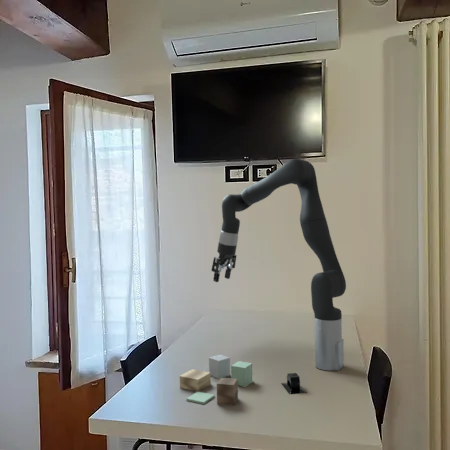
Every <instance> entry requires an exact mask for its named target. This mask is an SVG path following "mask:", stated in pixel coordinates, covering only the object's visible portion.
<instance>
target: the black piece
mask: <svg viewBox="0 0 450 450" xmlns="http://www.w3.org/2000/svg"><path fill="white" fill-rule="evenodd" d="M286 380H287V381H286V382H281V383H280V384H281V385H282V387H283V388H284V389H285V392H287V394H288V395H298V394H307V393H308V392H307V391H306V390H305V389H304V388H303V387H302V386H301V380H300V375H298V373H297V372H291V373H290V372H288V373H287V374H286Z"/></svg>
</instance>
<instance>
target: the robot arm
mask: <svg viewBox="0 0 450 450" xmlns="http://www.w3.org/2000/svg"><path fill="white" fill-rule="evenodd" d="M292 184H293V185H296V186H297V188H298V190H299V196H300V199H301V205H300V215H299V222H300V228H301V231H302V235H303V238H304V240H305V242H306V244H307V245H308V246H309V248H310V249H311V250H312V252H313V253H314V254H315V255H316V257H317V258H318V260H319V262H320V265H321V268H322V271H323V272H318V273H316V274H314V275H313V276H312V279H311V283H310V291H311V292H310V293H311V294H310V295H311V307H312V312H313V313H314V314H313V315H314V366H315V368H316V369H319V370H321V371H322V370H323V371H328V372H329V371H330V372H331V371H337V372H338V371H340V370H341V369H343V367H344V366H345V362H344V361H345V359H344V358H345V356H344V355H345V353H344V351H345V349H344V348H345V347H344V344H345V343H344V340H345V339H344V338H342V337H343V336H342V335H343V331H342V330H343V328H342V327H343V326H342V325H343V324H342V323H343V322H342V310H341V309H340V308H338V307H335V306H334V303H333V301H334V300H333V299H334V298H338V297H339V298H340V297H342V296H343V295H344V294H345V292H346V290H347V283H346V278H345V274H344V272H343V269H342V268H341V265H340V262H339V259H338V256H337V254H336V249H335V248H334V247H335V246H334V244H333V241H332V237H331V234H330V233H331V232H330V227H329V226H328V221H327V218H326V215H325V211H324V207H323V204H322V201H321V196H320V191H319V187H318V180H317V175H316V170H315V167H314V165H313V164H312V163H311V162H310V161H307V160H305V159H301V158H293V159H292V158H291V159H290V160H288V161H286V162H285V163H284V164H282V165H281V166H280V167H278V168H277V169H276V170H274V171H273V172H272V173H270V174H268V175H267V176H265V177H264V178H262V179H260V180H258V181H257V182H255V183H252V184H251V185H248V186H247V187H245V188H244V189H243V190H242V192H241V193H239V194H234V193H233V194H227V195H225V196H224V197H223V200H222V203H221V214H222V223H221V224H222V225H221V230H220V233H219V239H218V245H217V253H218V255H219V256H218V257H216V256H214V257H213V261H212V265H211V266H212V267H211V272H213V281H214V282H215V283H218V282H219V281H220V276H221V272H222V270H224V268H226V269H225V272H224V278H225V279H227V280H229V279H231V272H232V271H233V269H235V268H236V261H237V254H236V253H237V252H236V251H237V247H238V246H237V245H238V240H239V232H240V231H239V230H240V224H241V220H240V219H239V218H237V217H236V213H238V212H243V211H245V210H248V209H249V208H250V207H251V206H252V205H254V204H256V203H258V202H261V201H263V200H265V199H266V198H268V197H269V196H271V195H272V193H273V192H274V191H276V190H277V189H279V188H280V187H283V186H287V185H292Z"/></svg>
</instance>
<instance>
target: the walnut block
mask: <svg viewBox="0 0 450 450" xmlns="http://www.w3.org/2000/svg"><path fill="white" fill-rule="evenodd" d="M238 386H239V385H238V379H233V378H231V377H230V378H229V377H223V378H220V379H218V382H217V383H216V404H217V405H224V406H235V404H236V403H237V401H238V399H239V394H238V393H239V389H238V388H239V387H238Z"/></svg>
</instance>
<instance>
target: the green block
mask: <svg viewBox="0 0 450 450" xmlns="http://www.w3.org/2000/svg"><path fill="white" fill-rule="evenodd" d="M230 378H233V379H238V386H239V387H240V386H241V387H247V386H248V385H250V384H251V383H253V382H254V381H253V363H252V362H247V361H239V360H238V361H236V362H235V363H233V364H231V365H230Z"/></svg>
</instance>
